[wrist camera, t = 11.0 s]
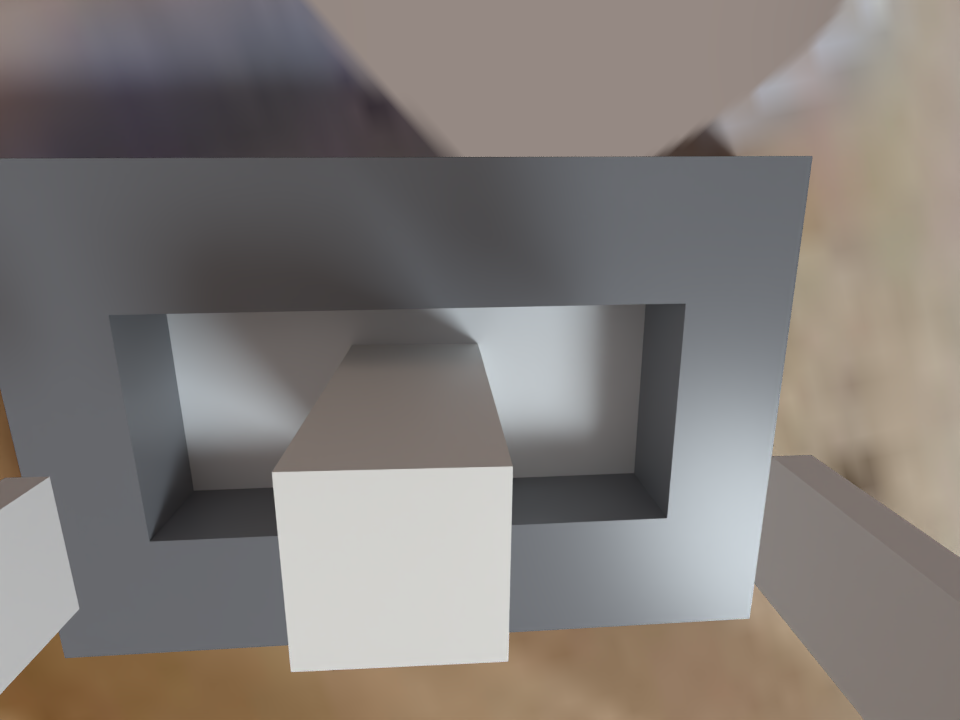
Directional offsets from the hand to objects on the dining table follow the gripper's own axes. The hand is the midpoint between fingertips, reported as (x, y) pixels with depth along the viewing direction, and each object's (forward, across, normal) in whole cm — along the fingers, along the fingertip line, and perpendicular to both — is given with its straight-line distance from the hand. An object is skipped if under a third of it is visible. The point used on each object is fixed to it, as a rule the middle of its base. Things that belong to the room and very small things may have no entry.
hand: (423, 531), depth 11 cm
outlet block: (+9, +1, 0) cm, 9 cm away
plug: (+8, +1, 0) cm, 8 cm away
